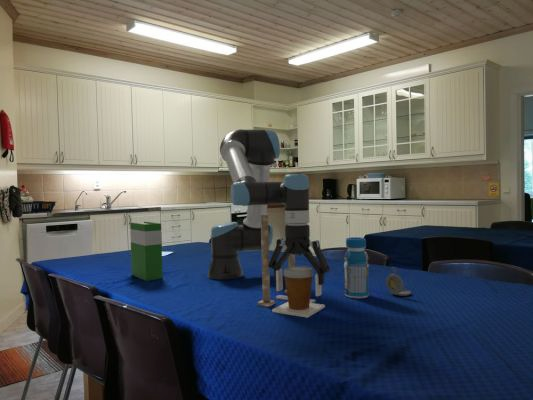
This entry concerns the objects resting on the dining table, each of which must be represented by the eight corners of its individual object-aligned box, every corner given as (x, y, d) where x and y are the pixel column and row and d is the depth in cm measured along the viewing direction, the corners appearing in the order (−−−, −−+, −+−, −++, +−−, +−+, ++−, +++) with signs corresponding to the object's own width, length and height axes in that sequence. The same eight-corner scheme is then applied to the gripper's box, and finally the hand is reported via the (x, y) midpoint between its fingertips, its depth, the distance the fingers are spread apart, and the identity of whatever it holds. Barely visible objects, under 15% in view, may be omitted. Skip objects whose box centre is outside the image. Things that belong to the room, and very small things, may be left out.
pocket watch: (410, 292, 145) (410, 264, 145) (410, 298, 138) (410, 268, 137) (386, 291, 148) (386, 263, 148) (385, 297, 140) (384, 267, 140)
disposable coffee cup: (313, 312, 122) (312, 271, 122) (281, 310, 124) (280, 271, 123) (315, 303, 131) (315, 265, 131) (286, 302, 133) (285, 265, 133)
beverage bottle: (355, 300, 137) (354, 240, 136) (339, 294, 144) (338, 238, 144) (374, 296, 141) (373, 238, 140) (358, 291, 148) (357, 236, 148)
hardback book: (131, 274, 189) (130, 222, 188) (147, 272, 193) (145, 221, 193) (146, 280, 175) (144, 224, 174) (162, 278, 179) (161, 223, 179)
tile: (272, 311, 126) (272, 309, 126) (291, 302, 136) (291, 300, 136) (307, 317, 119) (307, 314, 119) (324, 307, 129) (324, 304, 129)
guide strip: (273, 299, 139) (273, 297, 139) (279, 297, 143) (279, 294, 143) (310, 305, 132) (310, 302, 132) (315, 302, 135) (315, 299, 135)
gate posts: (258, 305, 133) (255, 215, 133) (290, 290, 152) (288, 212, 151) (268, 306, 131) (266, 216, 131) (299, 292, 150) (298, 212, 149)
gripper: (256, 224, 130) (258, 290, 131) (329, 226, 117) (331, 300, 118) (269, 222, 137) (270, 286, 137) (339, 224, 123) (341, 294, 124)
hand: (298, 292), depth 127 cm, fingers open, 13 cm apart
